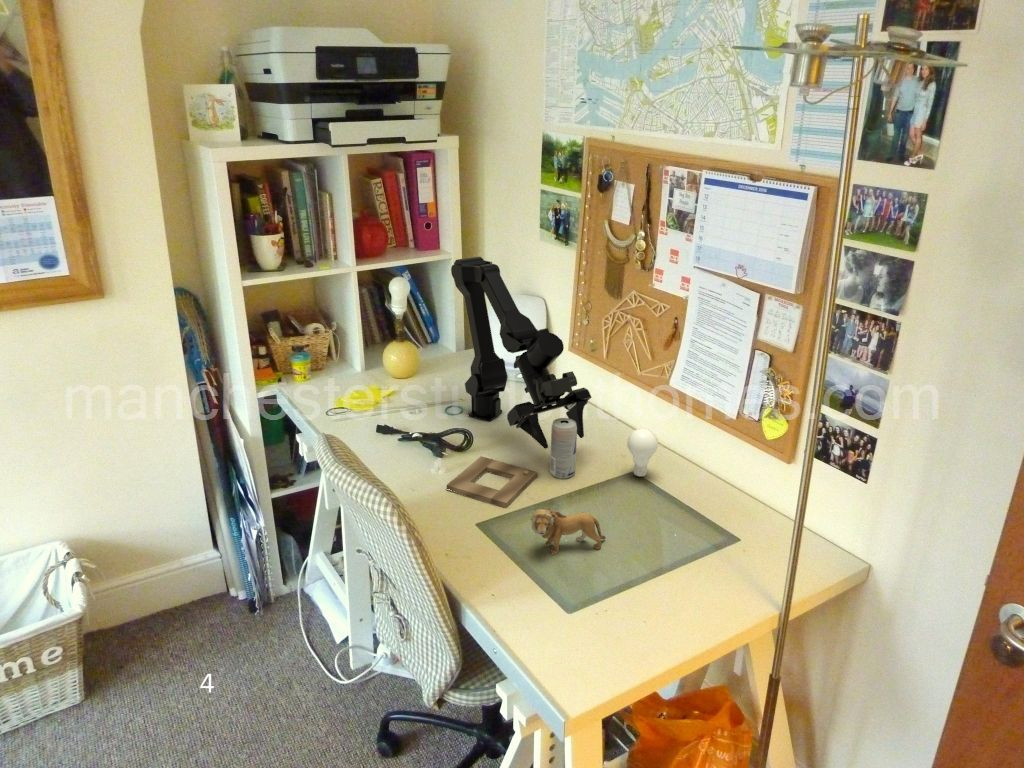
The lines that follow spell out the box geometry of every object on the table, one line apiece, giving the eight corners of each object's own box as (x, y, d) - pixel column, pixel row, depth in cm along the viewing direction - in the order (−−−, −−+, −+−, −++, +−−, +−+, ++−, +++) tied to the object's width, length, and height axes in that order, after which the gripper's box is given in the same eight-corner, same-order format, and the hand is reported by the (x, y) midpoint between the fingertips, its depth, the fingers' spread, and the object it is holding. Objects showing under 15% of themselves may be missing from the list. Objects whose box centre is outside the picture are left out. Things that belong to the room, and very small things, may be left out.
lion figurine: (535, 563, 134) (537, 520, 130) (525, 546, 139) (526, 504, 135) (611, 547, 138) (614, 505, 135) (598, 531, 143) (601, 490, 139)
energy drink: (575, 467, 165) (577, 418, 160) (574, 480, 160) (577, 429, 155) (550, 466, 165) (552, 416, 161) (549, 478, 161) (551, 428, 156)
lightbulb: (654, 484, 159) (658, 438, 154) (623, 481, 160) (627, 435, 155) (655, 470, 164) (659, 424, 160) (625, 466, 165) (629, 421, 161)
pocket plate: (446, 490, 156) (446, 483, 155) (480, 460, 167) (480, 454, 167) (506, 508, 150) (506, 501, 149) (537, 476, 161) (537, 470, 161)
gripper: (514, 369, 153) (543, 439, 148) (588, 352, 162) (618, 418, 157) (494, 391, 162) (521, 458, 157) (565, 374, 171) (593, 437, 167)
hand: (564, 442), depth 159 cm, fingers open, 9 cm apart
